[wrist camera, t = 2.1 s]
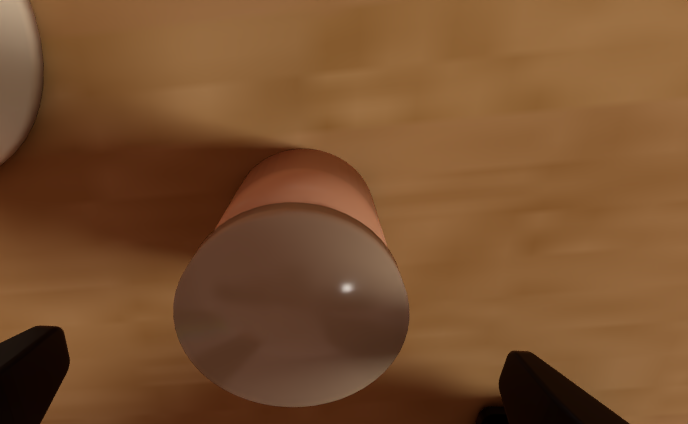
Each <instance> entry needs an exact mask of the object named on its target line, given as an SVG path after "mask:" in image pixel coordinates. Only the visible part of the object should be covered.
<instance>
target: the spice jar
mask: <svg viewBox="0 0 688 424" xmlns="http://www.w3.org/2000/svg"><path fill="white" fill-rule="evenodd" d="M173 317H174V323H175V329H176V332H177V335H178V338H179V341H180V343H181V345H182V347H183V349H184V351H185V353H186V354H187V356H188V357H189V359H190V360H191V362H192V363H193V364H194V365H195V366H196V367H197V368H198V370H199V371H200V372H201V373H202V374H204V375H205V376H206V377H207V378H208V379H209V380H211V381H212V382H213V383H215V384H216V385H218V386H219V387H221V388H222V389H224V390H226V391H228V392H230V393H232V394H234V395H236V396H239V397H241V398H244V399H247V400H250V401H253V402H257V403H261V404H266V405H272V406H281V407H306V406H315V405H320V404H325V403H329V402H333V401H336V400H339V399H342V398H344V397H347V396H349V395H352V394H354V393H356V392H357V391H359V390H361V389H363V388H365V387H366V386H368V385H369V384H370V383H372V382H373V381H375V380H376V379H377V378H378V377H379V376H380V375H381V374H383V373H384V372H385V371H386V369H387V368H388V367H389V366H390V365H391V364H392V362H393V361H394V359H395V358H396V356H397V355H398V353H399V352H400V349H401V347H402V345H403V343H404V341H405V337H406V334H407V331H408V324H409V303H408V298H407V293H406V290H405V287H404V284H403V281H402V278H401V275H400V272H399V269H398V266H397V263H396V261H395V259H394V257H393V256H392V254H391V252H390V250H389V249H388V247H387V244H386V241H385V237H384V234H383V231H382V228H381V225H380V221H379V218H378V215H377V212H376V208H375V205H374V202H373V199H372V196H371V193H370V190H369V188H368V186H367V184H366V183H365V181H364V180H363V178H362V177H361V175H360V174H359V173H358V172H357V171H356V170H355V169H354V168H353V167H352V166H350V165H349V164H348V163H347V162H345V161H344V160H342V159H340V158H339V157H336V156H334V155H332V154H330V153H326V152H323V151H319V150H313V149H293V150H287V151H283V152H280V153H277V154H274V155H272V156H270V157H268V158H266V159H264V160H263V161H262V162H260V163H259V164H257V165H256V166H255V167H254V168H253V169H252V170H251V171H250V172H249V173H248V175H247V176H246V177H245V179H244V180H243V182H242V184H241V185H240V187H239V189H238V190H237V192H236V194H235V196H234V197H233V199H232V201H231V202H230V204H229V206H228V207H227V209H226V211H225V213H224V214H223V216H222V218H221V219H220V221H219V223H218V225H217V226H216V228H215V230H214V231H213V232H212V233H211V234H210V235H209V236H208V237H207V238H206V239H205V240H204V241H203V243H202V244H201V245H200V247H199V248H198V249H197V251H196V253H195V254H194V256H193V258H192V259H191V261H190V263H189V264H188V266H187V268H186V269H185V271H184V273H183V275H182V277H181V278H180V281H179V284H178V287H177V289H176V293H175V299H174V315H173Z"/></svg>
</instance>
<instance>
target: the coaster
mask: <svg viewBox="0 0 688 424" xmlns="http://www.w3.org/2000/svg"><path fill="white" fill-rule="evenodd" d="M43 67H44V63H43V55H42V46H41V39H40V35H39V31H38V27H37V22H36V18H35V14H34V12H33V9H32V6H31V3H30V1H29V0H0V165H2V164H3V163H4V162H5V161H6V160H7V159H9V158H10V157H11V156H12V155H13V154H14V153H15V152H16V151H17V149H18V148H19V147H20V146H21V144H22V143H23V142H24V141H25V139H26V137H27V136H28V134H29V132H30V130H31V128H32V126H33V124H34V122H35V119H36V116H37V113H38V110H39V107H40V102H41V96H42V90H43Z"/></svg>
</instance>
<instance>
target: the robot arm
mask: <svg viewBox="0 0 688 424" xmlns="http://www.w3.org/2000/svg"><path fill="white" fill-rule="evenodd" d="M69 364H70V357H69V353H68V348H67V344H66V339H65V335H64V331H63V330H62V329H61V328H60V327H57V326H35V327H32V328H30V329H28V330H26V331H24V332H22V333H20V334H18V335H16V336H14V337H12V338H10V339H8V340H6V341H3V342H1V343H0V424H40V423H41V421H42V419H43V417H44V416H45V414H46V412H47V410H48V408H49V406H50V404H51V402H52V400H53V398H54V396H55V394H56V393H57V391H58V389H59V387H60V385H61V383H62V381H63V379H64V377H65V375H66V373H67V371H68V368H69ZM499 390H500V394H501V398H502V401H503V405H504V407H495V406H491V407H486V408H484V409H482V410H481V411H480V413H479V415H478V418H477V421H476V424H629V423H628V422H627V421H625V420H624V419H622V418H621V417H620V416H618V415H617V414H616V413H614V412H613V411H611V410H610V409H609V408H607V407H606V406H605V405H603V404H602V403H600V402H599V401H598V400H596V399H595V398H594V397H592V396H591V395H589V394H588V393H587V392H585V391H584V390H583V389H581V388H580V387H578V386H577V385H576V384H574V383H573V382H572V381H570V380H569V379H567V378H566V377H565V376H563V375H562V374H561V373H559V372H558V371H556V370H555V369H554V368H552V367H551V366H550V365H548V364H547V363H545V362H544V361H543V360H541V359H540V358H539V357H537V356H536V355H534V354H533V353H531V352H528V351H511V352H510V353H509V354H508V356H507V358H506V361H505V364H504V367H503V370H502V372H501V375H500V378H499Z"/></svg>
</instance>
